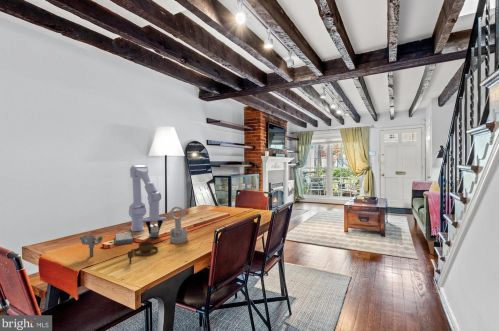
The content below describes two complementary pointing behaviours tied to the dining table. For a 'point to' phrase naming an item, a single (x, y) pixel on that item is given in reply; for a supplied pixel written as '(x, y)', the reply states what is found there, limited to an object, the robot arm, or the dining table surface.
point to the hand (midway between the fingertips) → (153, 232)
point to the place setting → (143, 250)
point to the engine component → (177, 228)
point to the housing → (154, 230)
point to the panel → (123, 238)
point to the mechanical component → (90, 242)
